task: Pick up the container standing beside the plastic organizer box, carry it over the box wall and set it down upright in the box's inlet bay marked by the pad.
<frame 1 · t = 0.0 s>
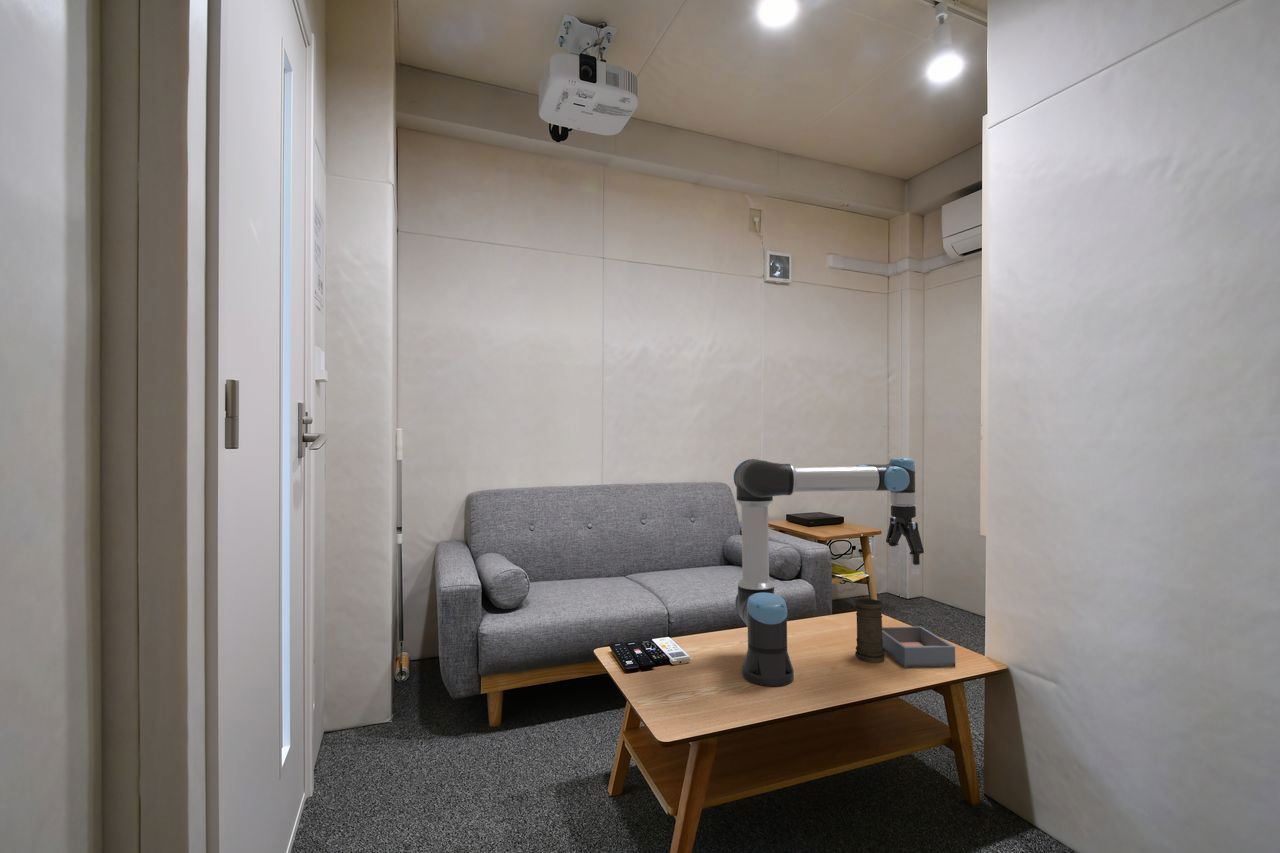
hand: (904, 569, 189), 28 cm above the table, fingers open, 13 cm apart
container: (870, 657, 187), on the table
walled box: (913, 655, 189), on the table
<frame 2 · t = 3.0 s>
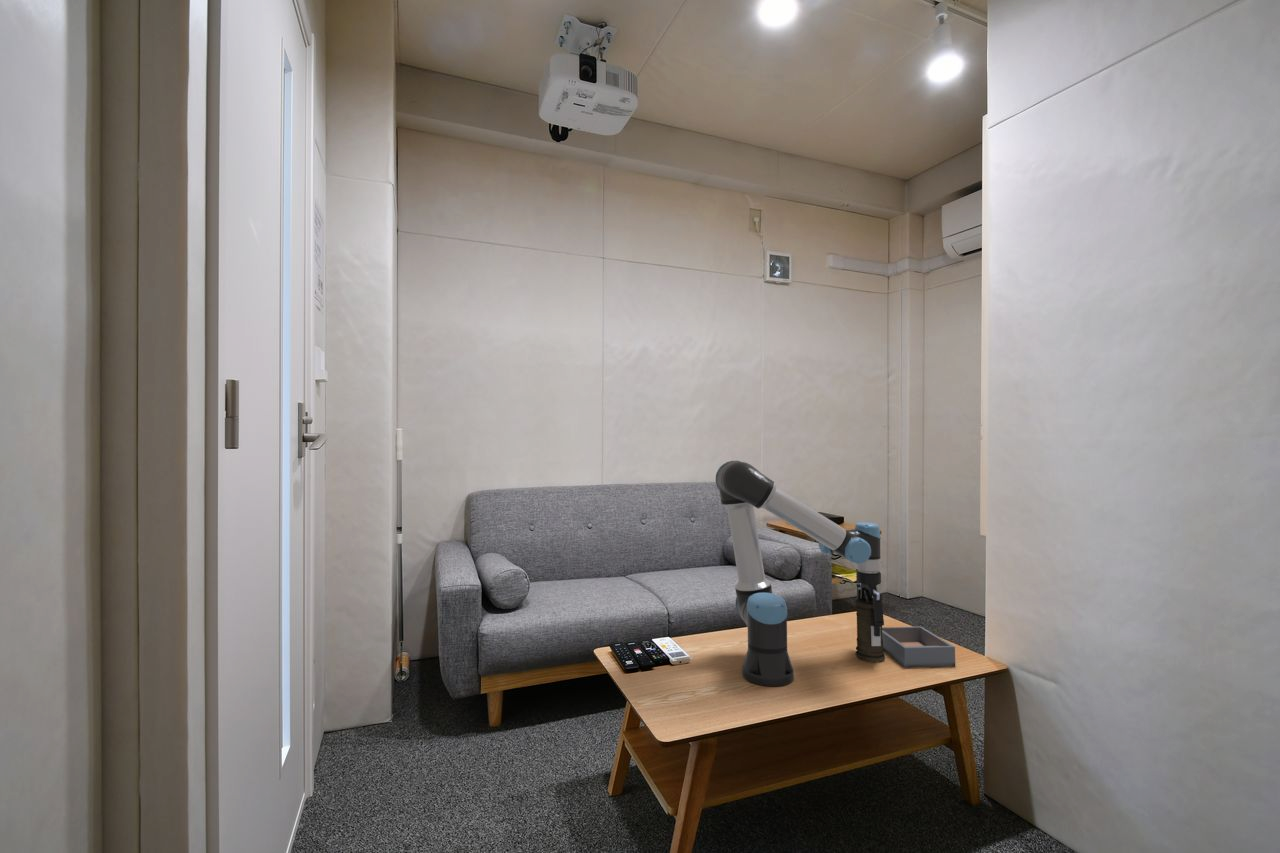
hand: (870, 640, 187), 5 cm above the table, fingers closed on container, 8 cm apart
container: (870, 657, 187), on the table, touching gripper
when the fingers open (8 cm above the table, at t = 9.4 s): container drops 2 cm, resting on walled box.
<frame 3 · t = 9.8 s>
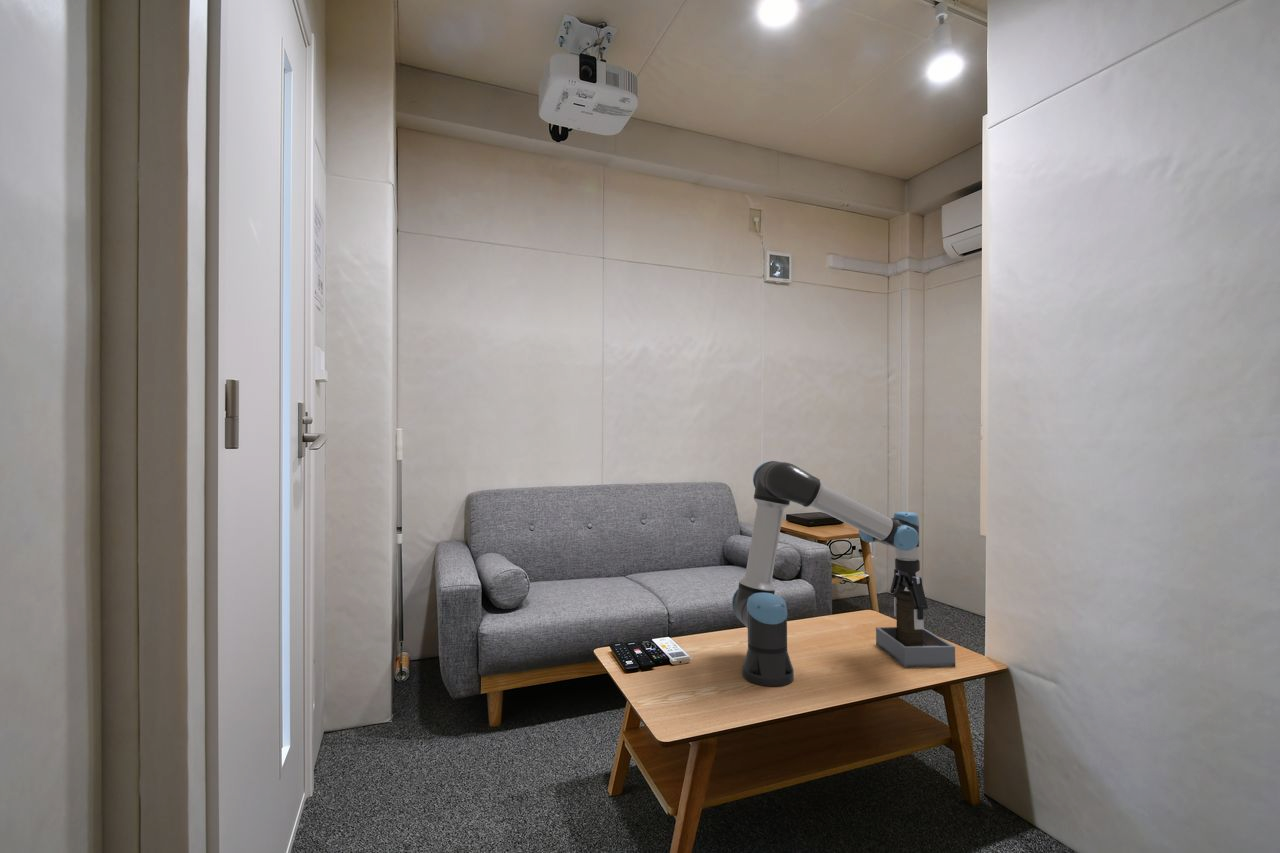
hand: (908, 622, 192), 10 cm above the table, fingers open, 13 cm apart
container: (909, 648, 192), point 1 cm above the table, touching walled box
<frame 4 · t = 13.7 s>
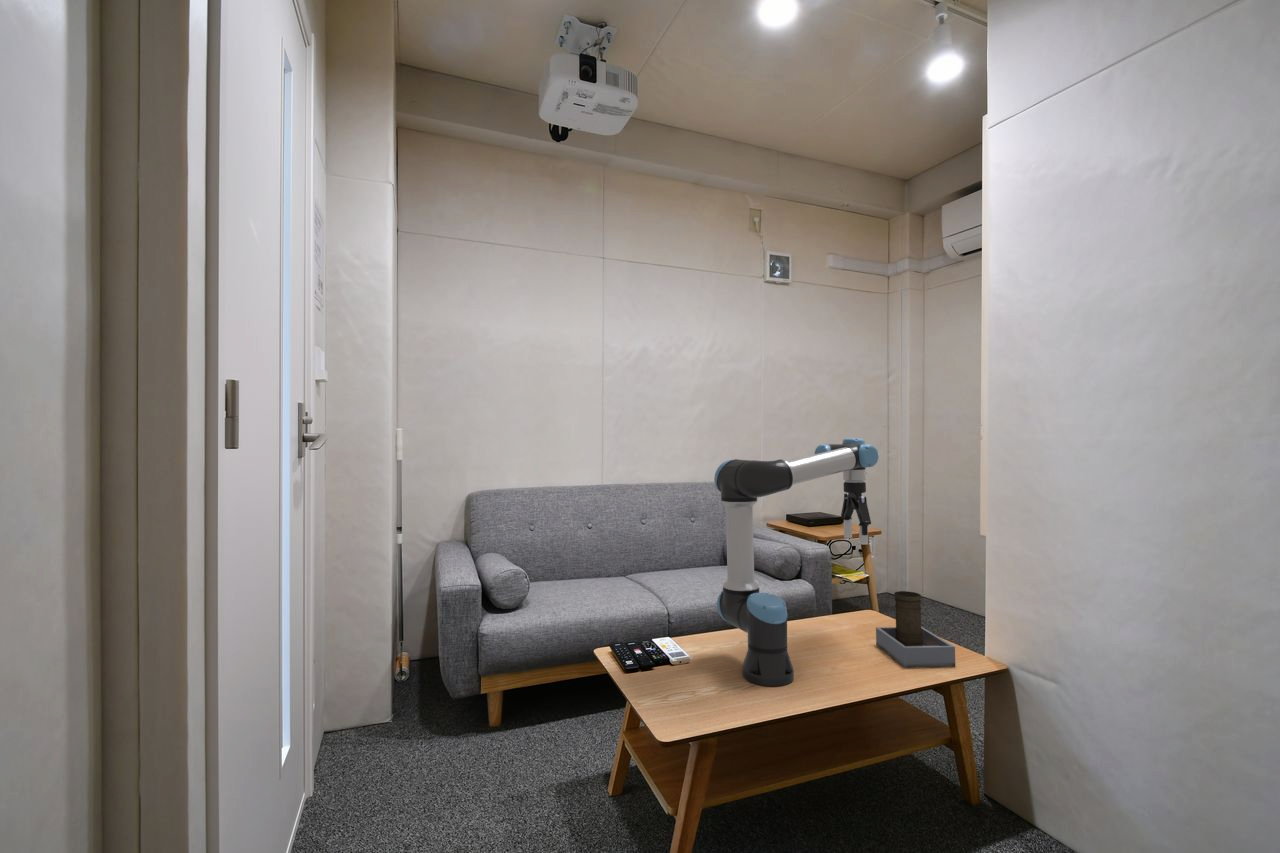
hand: (855, 541, 205), 35 cm above the table, fingers open, 13 cm apart
nothing on the table moved.
at the end: container inside the target area on the walled box (0.1 cm from its centre), point 0.9 cm above the walled box's base; container tilted 0°; the gripper is holding nothing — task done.
